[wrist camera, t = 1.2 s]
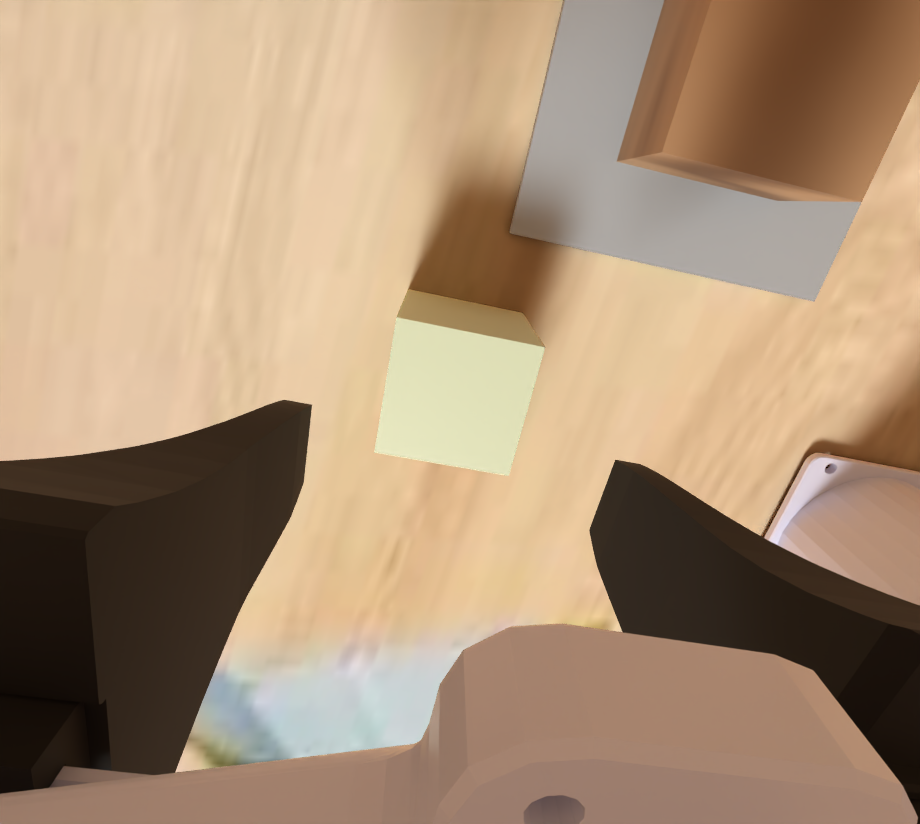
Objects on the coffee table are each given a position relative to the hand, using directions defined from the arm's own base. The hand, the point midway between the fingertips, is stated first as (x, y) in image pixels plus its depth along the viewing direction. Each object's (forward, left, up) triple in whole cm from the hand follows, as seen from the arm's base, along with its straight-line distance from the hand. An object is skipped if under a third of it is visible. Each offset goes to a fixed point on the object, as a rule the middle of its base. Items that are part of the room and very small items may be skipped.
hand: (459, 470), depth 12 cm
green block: (0, 0, -9) cm, 9 cm away
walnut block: (-7, -11, -9) cm, 16 cm away
